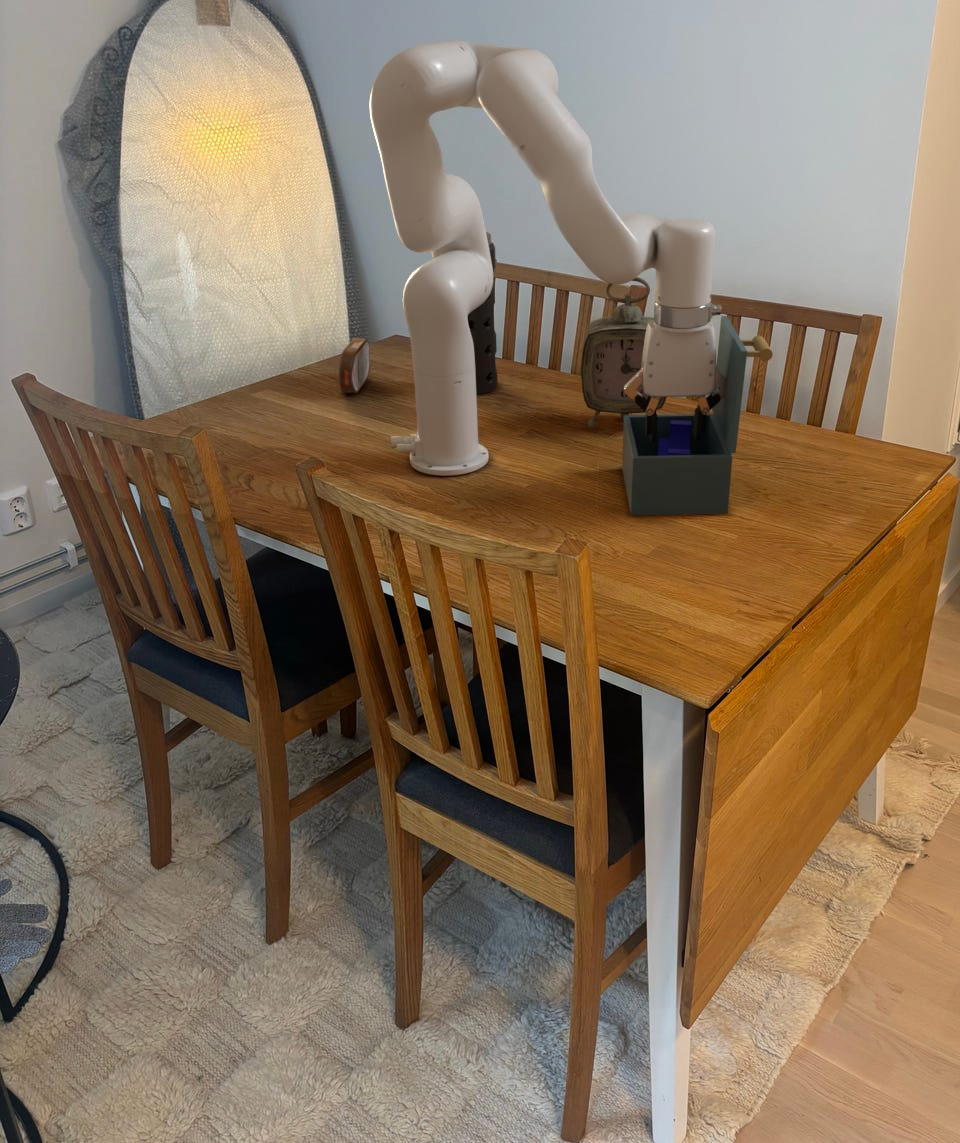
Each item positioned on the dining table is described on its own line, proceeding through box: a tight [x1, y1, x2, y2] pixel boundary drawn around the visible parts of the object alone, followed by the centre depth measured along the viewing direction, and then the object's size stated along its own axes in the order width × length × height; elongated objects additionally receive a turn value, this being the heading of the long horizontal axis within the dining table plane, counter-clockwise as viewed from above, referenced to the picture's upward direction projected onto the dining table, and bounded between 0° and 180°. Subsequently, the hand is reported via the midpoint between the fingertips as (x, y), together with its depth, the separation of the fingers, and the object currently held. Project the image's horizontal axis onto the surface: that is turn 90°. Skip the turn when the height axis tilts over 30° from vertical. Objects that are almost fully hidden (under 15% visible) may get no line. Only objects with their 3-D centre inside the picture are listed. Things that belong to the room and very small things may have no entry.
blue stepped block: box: [658, 420, 691, 456], centre depth 156 cm, size 12×4×6 cm, turn 170°
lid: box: [711, 315, 774, 454], centre depth 151 cm, size 14×17×5 cm
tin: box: [338, 337, 371, 394], centre depth 203 cm, size 15×3×8 cm, turn 172°
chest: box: [621, 413, 733, 516], centre depth 157 cm, size 14×17×9 cm
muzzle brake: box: [468, 231, 499, 396], centre depth 196 cm, size 10×28×10 cm
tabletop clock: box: [580, 276, 668, 429], centre depth 178 cm, size 14×9×25 cm, turn 83°
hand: (674, 436), depth 155 cm, fingers open, 5 cm apart
